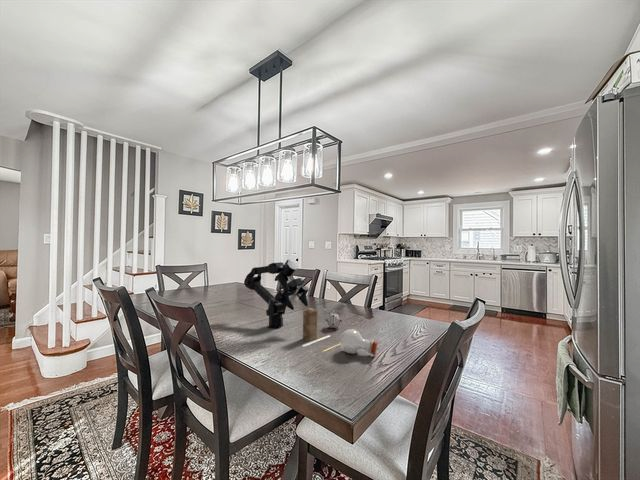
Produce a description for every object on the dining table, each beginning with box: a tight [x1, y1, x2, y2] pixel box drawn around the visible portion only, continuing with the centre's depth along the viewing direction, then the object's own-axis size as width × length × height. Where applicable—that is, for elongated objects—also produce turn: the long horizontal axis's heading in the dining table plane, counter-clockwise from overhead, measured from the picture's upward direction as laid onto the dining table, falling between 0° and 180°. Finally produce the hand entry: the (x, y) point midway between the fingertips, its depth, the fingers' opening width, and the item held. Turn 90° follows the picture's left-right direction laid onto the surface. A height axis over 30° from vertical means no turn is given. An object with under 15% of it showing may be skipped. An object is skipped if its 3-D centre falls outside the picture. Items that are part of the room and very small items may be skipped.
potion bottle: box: [339, 328, 379, 357], centre depth 109 cm, size 9×10×15 cm
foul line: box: [301, 334, 331, 348], centre depth 123 cm, size 18×2×1 cm, turn 138°
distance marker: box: [322, 342, 341, 353], centre depth 116 cm, size 14×1×1 cm, turn 138°
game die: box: [325, 311, 342, 330], centre depth 141 cm, size 9×8×10 cm
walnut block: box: [302, 308, 318, 342], centre depth 126 cm, size 5×5×14 cm
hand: (300, 307), depth 130 cm, fingers open, 9 cm apart
